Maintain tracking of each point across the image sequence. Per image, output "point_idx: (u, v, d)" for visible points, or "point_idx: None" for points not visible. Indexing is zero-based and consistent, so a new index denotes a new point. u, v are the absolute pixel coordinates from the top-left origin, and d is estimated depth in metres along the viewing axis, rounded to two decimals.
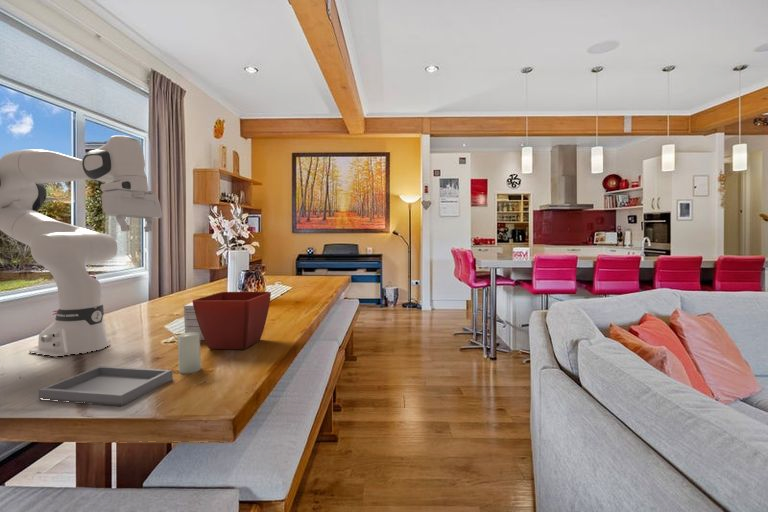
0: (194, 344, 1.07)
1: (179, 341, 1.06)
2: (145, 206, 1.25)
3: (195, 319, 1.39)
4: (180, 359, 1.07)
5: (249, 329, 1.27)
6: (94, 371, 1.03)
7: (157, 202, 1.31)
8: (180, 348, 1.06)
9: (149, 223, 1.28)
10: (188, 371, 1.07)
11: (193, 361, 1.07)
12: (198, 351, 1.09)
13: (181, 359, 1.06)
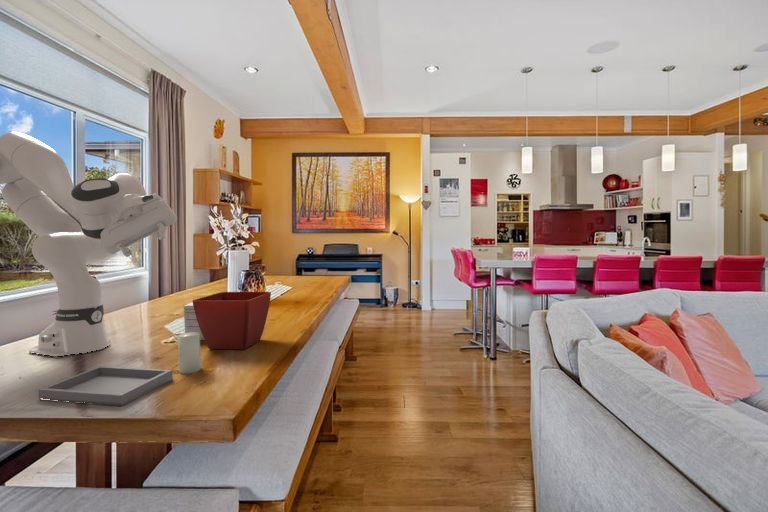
0: (194, 344, 1.07)
1: (179, 341, 1.06)
2: None
3: (195, 319, 1.39)
4: (180, 359, 1.07)
5: (249, 329, 1.27)
6: (94, 371, 1.03)
7: None
8: (180, 348, 1.06)
9: None
10: (188, 371, 1.07)
11: (193, 361, 1.07)
12: (198, 351, 1.09)
13: (181, 359, 1.06)
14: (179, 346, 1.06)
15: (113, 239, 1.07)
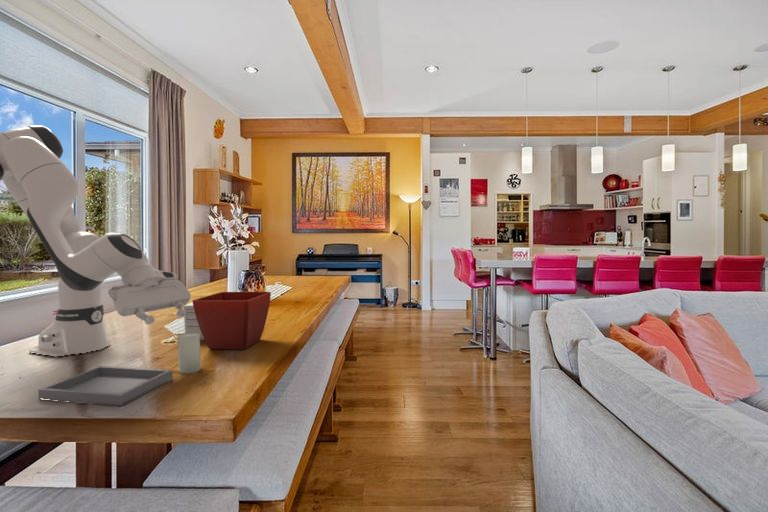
0: (194, 344, 1.07)
1: (179, 341, 1.06)
2: None
3: (195, 319, 1.39)
4: (180, 359, 1.07)
5: (249, 329, 1.27)
6: (94, 371, 1.03)
7: None
8: (180, 348, 1.06)
9: None
10: (188, 371, 1.07)
11: (193, 361, 1.07)
12: (198, 351, 1.09)
13: (181, 359, 1.06)
14: (179, 346, 1.06)
15: (136, 303, 1.06)
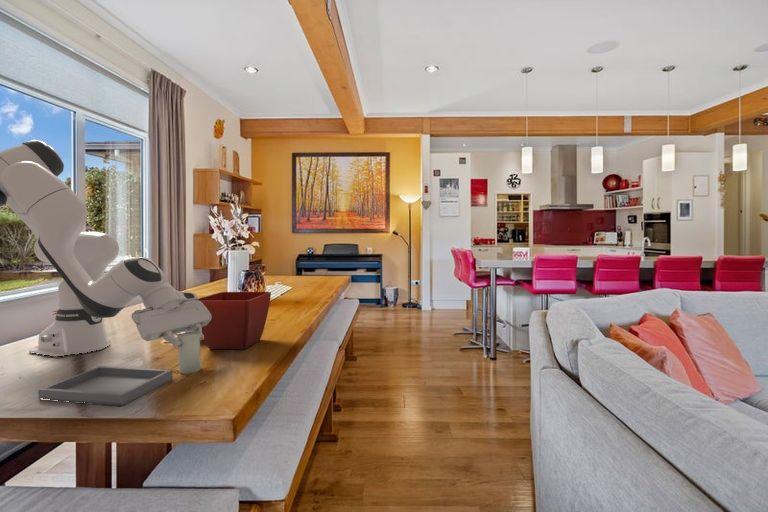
0: (194, 344, 1.07)
1: None
2: None
3: None
4: (180, 359, 1.07)
5: (249, 329, 1.27)
6: (94, 371, 1.03)
7: None
8: (180, 348, 1.06)
9: None
10: (188, 371, 1.07)
11: (193, 361, 1.07)
12: (198, 351, 1.09)
13: (181, 359, 1.06)
14: None
15: (160, 327, 1.03)
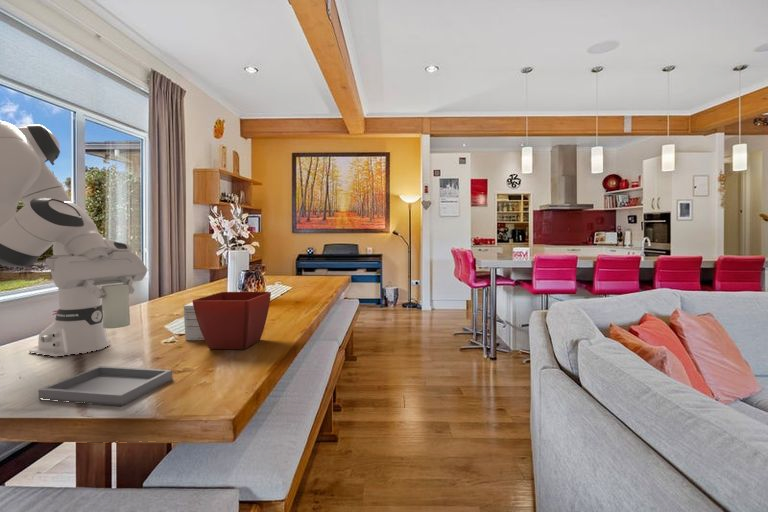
0: (120, 295, 0.95)
1: None
2: None
3: (195, 319, 1.39)
4: (104, 312, 0.94)
5: (249, 329, 1.27)
6: (94, 371, 1.03)
7: None
8: (103, 299, 0.94)
9: None
10: (113, 326, 0.94)
11: (119, 315, 0.95)
12: (126, 304, 0.96)
13: (105, 312, 0.94)
14: None
15: (79, 274, 0.91)
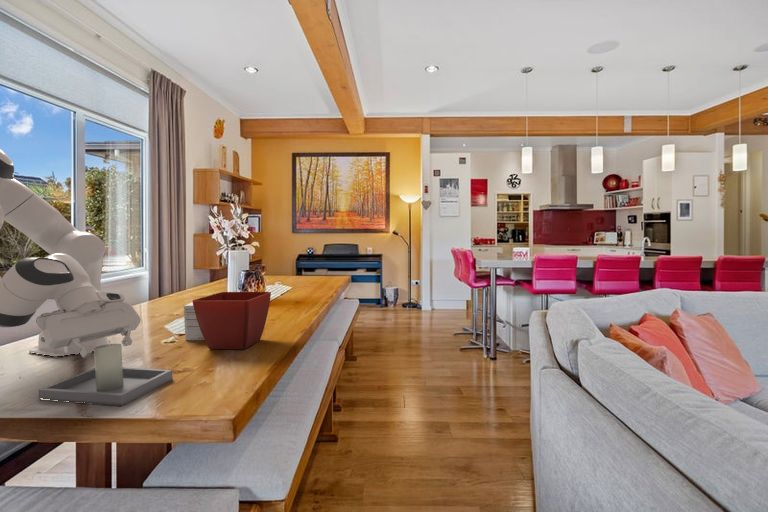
0: (113, 358, 0.94)
1: (95, 354, 0.93)
2: None
3: (195, 319, 1.39)
4: (96, 375, 0.94)
5: (249, 329, 1.27)
6: (94, 371, 1.03)
7: None
8: (96, 362, 0.93)
9: None
10: (105, 388, 0.94)
11: (112, 377, 0.94)
12: (119, 365, 0.96)
13: (98, 375, 0.93)
14: (95, 360, 0.94)
15: (70, 332, 0.90)
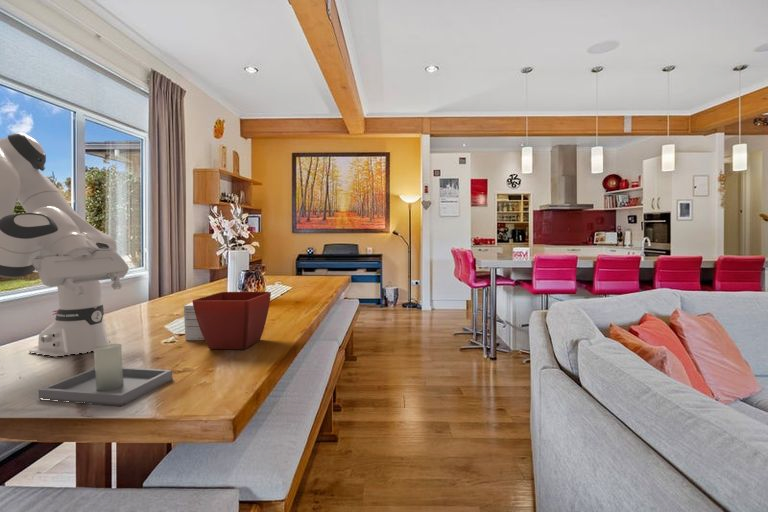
0: (113, 358, 0.94)
1: (95, 354, 0.93)
2: None
3: (195, 319, 1.39)
4: (96, 375, 0.94)
5: (249, 329, 1.27)
6: (94, 371, 1.03)
7: None
8: (96, 362, 0.93)
9: None
10: (105, 388, 0.94)
11: (112, 377, 0.94)
12: (118, 365, 0.96)
13: (97, 375, 0.93)
14: (95, 360, 0.94)
15: (64, 272, 0.99)
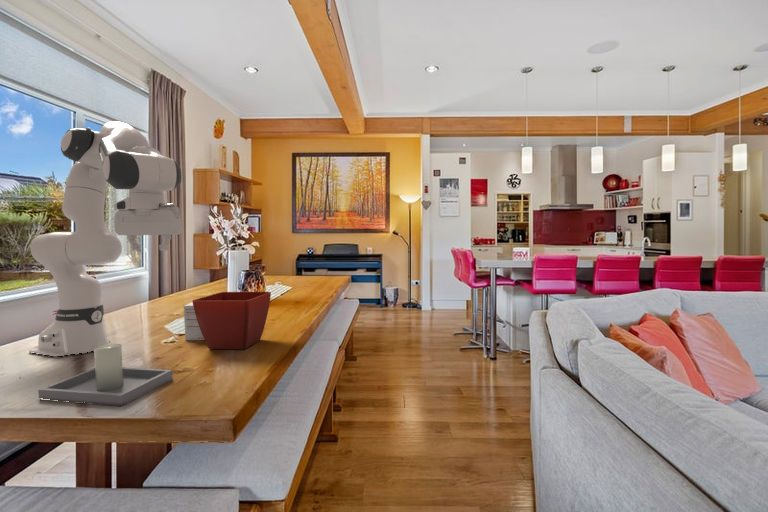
0: (113, 358, 0.94)
1: (95, 354, 0.93)
2: (151, 223, 1.14)
3: (195, 319, 1.39)
4: (96, 375, 0.94)
5: (249, 329, 1.27)
6: (94, 371, 1.03)
7: (168, 217, 1.13)
8: (96, 362, 0.93)
9: None
10: (105, 388, 0.94)
11: (112, 377, 0.94)
12: (118, 365, 0.96)
13: (97, 375, 0.93)
14: (95, 360, 0.94)
15: None
